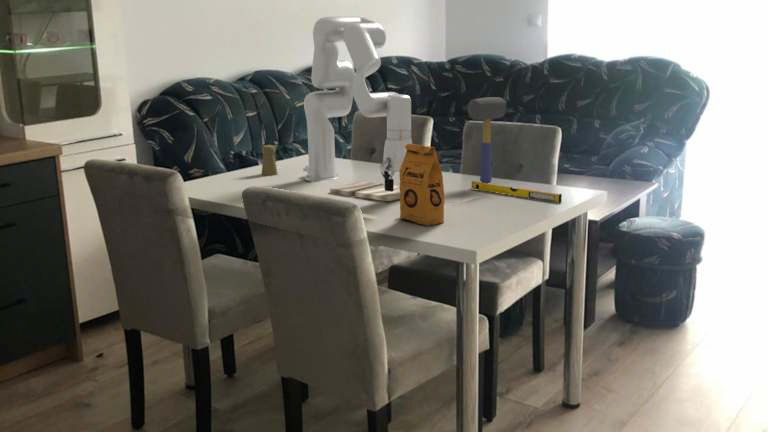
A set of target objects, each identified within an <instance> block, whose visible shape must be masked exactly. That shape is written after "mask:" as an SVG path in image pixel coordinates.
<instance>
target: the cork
mask: <svg viewBox="0 0 768 432" xmlns="http://www.w3.org/2000/svg"><path fill="white" fill-rule="evenodd" d="M261 153H262V163H261V176H262V177H263V176H265V177H266V176H267V177H268V176H269V177H272V176H277V175H278V168H277V167H278V166H277V162H276V156H275V153H276V147H275V146H274V145H272V144H265V145H263V146H262V147H261Z"/></svg>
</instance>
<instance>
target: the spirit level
mask: <svg viewBox="0 0 768 432" xmlns="http://www.w3.org/2000/svg"><path fill="white" fill-rule="evenodd" d="M472 188H473V189H478V190H484V191H491V192H498V193H505V194H511V195H516V196H515V197H517V196H522V197H521V198H523V197H529V198H528V199H530V198H535V199H534V200H536V199H540V200H539V201H542V200H546V201H545V202H549V201H553V202H552V203H555V202H559V203H558V204H560V202H561V203H562V196H563V195H562V193H556V192H555V193H554V192H549V191H548V192H547V191H541V190H534V189H527V188H520V187H519V188H515V187H514V188H513V187H512V186H507V185H506V186H505V185H500V184H492V183H490V184H487V183H482V182H481V181H475V180H473V181H471V189H472ZM478 190H477V191H478ZM484 191H483V192H484ZM491 192H490V193H491Z"/></svg>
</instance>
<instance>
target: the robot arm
mask: <svg viewBox="0 0 768 432" xmlns="http://www.w3.org/2000/svg"><path fill="white" fill-rule="evenodd" d="M312 30H313V31H312V38H313V47H314V49H313V58H312V67H311V79H310V80H311V84H312V86H313V87H314V88H317V89H318V90H319V89H320V90H319V91H313V92H310V93H308V94H306V96H305V97H304V100H303V107H304V113H305V118H306V126H307V127H306V128H307V145H308V146H307V147H308V150H307V151H308V154H307V155H308V165H305V167H303V168H302V171H303V172H304V173H305V172H306V173H307V174H306V175H305V176H304V180H305V181H307V182H318V181H327V180H336V179H338V178H340V174H338V173H336V152H335V151H336V150H335V149H336V148H335V147H336V146H335V142H336V141H335V129H334V127H333V125H332V123H331V121H330V120H329V119H330V118H339V117H344V116H347V115H349V113H350V112H351V111H352V105H353V101H355V103H356V104H355V105H356V106H357V108H358V111H359V112H360V114H361V115H362V116H364V117H366V118H378V117H386V139H385V142H384V147H383V156H382V157H383V159H382V163H381V164H380V165H379V170H380V172H381V175H382V178H383V179H384V185H385V191H391V192H392V191H393V190H394V186H395V185H394V184H395V183H394V182H395V181H394V178H393V177H394V175H395V173H400V168H401V166H402V163H403V160H404V157H405V155H406V152H407V149H405V147H406V145H407V144H408V143H409V144H413V141H412V140H413V139H412V99H411V97H410V95H407V94H399V92H398V93H397V92H394V91H385V92H383V91H382V92H370V91H369V89H368V86H367V83H366V78H367V77H368V76H370V75H372V74H375V72H376V71H378V70H379V69H380V67H381V65H382V60H381V58H380V55H379V52H377V49H381V48H383V47H384V45H385V43H386V41H387V40H386V39H387V35H386V31H385V29H384V27H383V26H382V25H381V24H380V23H379V22H376V21H374V20H371V19H367V18H365V17H361V16H323V17H320V18H319V19H317V20H316V22H315V23H314V24H313V29H312ZM337 43H344V45H345V46H346V49H347V52H348V54H349V56H350V58H351V61H352V63H353V64H352V63H351V62H350V61H348V60H339V54H340V53H339V47H338V45H337ZM324 89H325V90H324ZM329 89H334V90H329ZM353 99H354V100H353Z"/></svg>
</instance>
